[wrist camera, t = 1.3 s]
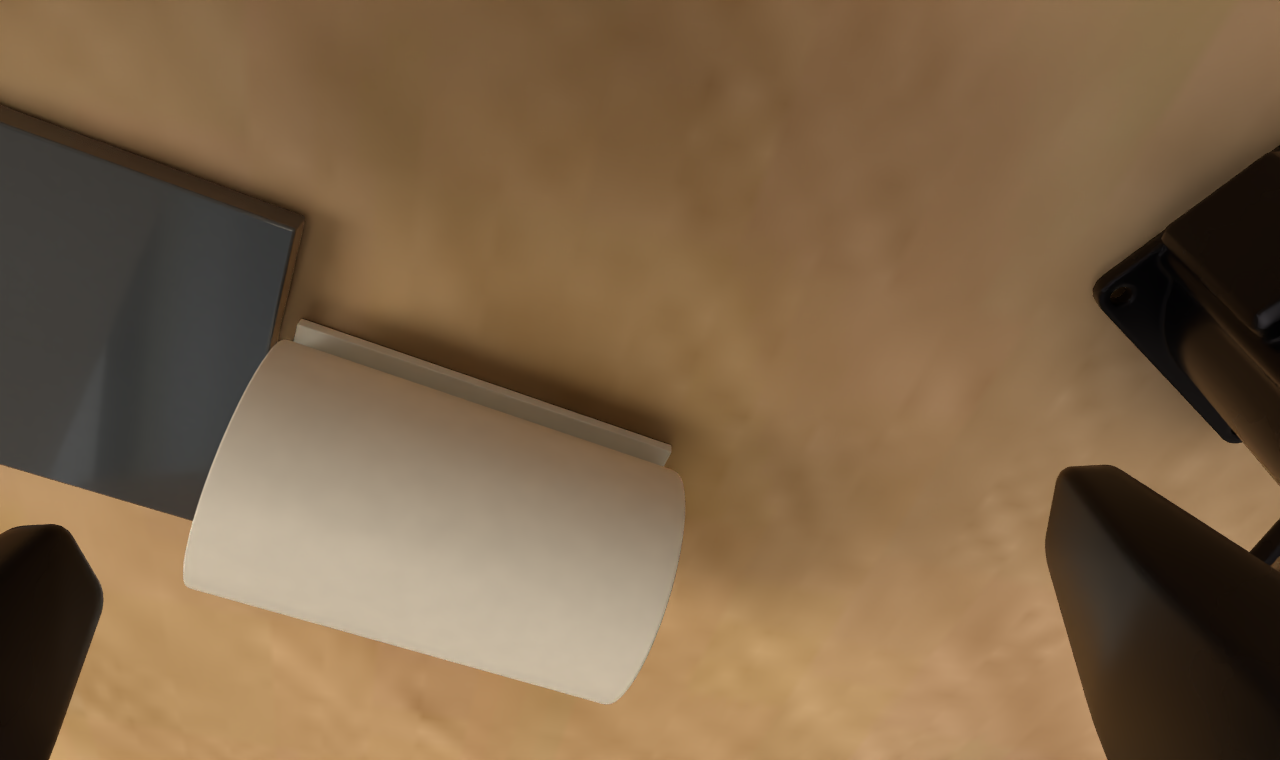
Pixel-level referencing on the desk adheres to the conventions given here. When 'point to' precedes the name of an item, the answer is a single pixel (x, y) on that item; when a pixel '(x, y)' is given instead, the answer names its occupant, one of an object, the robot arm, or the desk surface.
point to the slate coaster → (128, 313)
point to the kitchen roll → (440, 516)
